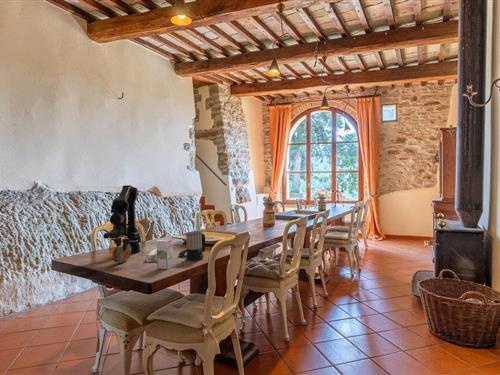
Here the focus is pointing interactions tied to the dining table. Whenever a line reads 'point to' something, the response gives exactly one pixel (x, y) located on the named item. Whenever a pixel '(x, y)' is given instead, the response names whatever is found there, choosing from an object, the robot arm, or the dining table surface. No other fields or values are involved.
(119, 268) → the dining table surface
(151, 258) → the pale block
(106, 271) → the dining table surface
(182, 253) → the milk frother
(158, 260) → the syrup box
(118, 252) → the tin
